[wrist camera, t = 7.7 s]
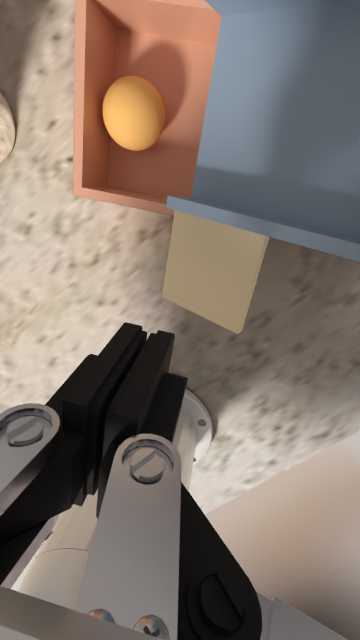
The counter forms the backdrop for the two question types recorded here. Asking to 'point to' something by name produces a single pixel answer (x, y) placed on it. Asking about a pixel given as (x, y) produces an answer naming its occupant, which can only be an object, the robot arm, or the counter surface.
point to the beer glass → (6, 129)
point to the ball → (133, 113)
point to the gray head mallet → (270, 152)
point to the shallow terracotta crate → (163, 73)
